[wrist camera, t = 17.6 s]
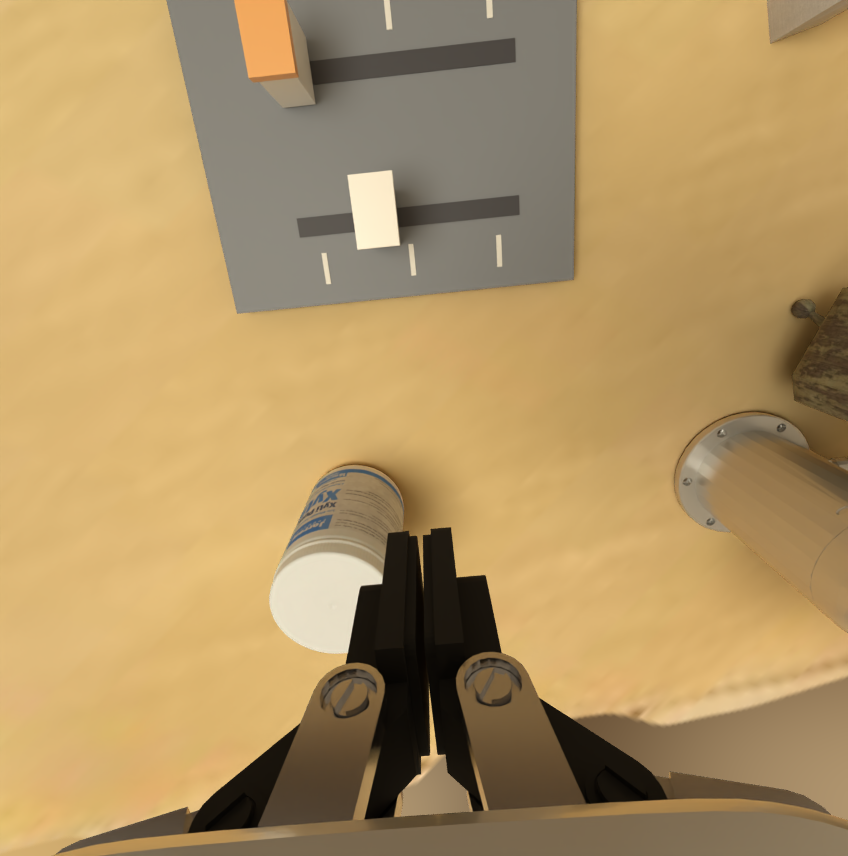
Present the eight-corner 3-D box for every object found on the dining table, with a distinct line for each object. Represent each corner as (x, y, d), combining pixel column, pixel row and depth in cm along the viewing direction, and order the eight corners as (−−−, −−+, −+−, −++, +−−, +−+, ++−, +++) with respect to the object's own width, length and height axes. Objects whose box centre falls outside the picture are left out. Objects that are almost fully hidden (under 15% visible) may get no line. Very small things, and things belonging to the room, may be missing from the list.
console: (568, -49, 33) (577, -68, 31) (566, 278, 41) (573, 279, 39) (177, -2, 34) (162, -18, 32) (245, 311, 41) (236, 313, 39)
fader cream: (396, 185, 36) (391, 170, 30) (403, 247, 37) (399, 245, 31) (360, 189, 36) (347, 174, 30) (368, 250, 38) (357, 249, 31)
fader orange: (308, 33, 33) (280, -22, 26) (318, 107, 34) (295, 72, 28) (268, 37, 33) (231, -16, 26) (280, 111, 34) (248, 77, 28)
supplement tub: (331, 446, 46) (292, 528, 32) (420, 483, 47) (420, 577, 33) (297, 525, 49) (248, 632, 35) (382, 558, 50) (367, 672, 36)
